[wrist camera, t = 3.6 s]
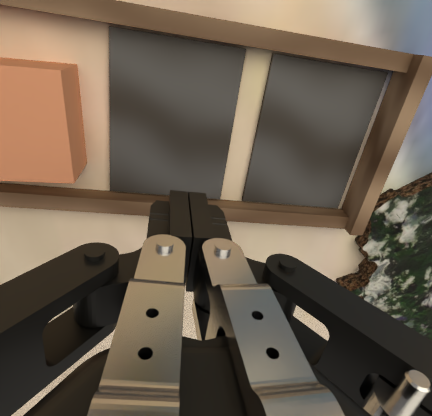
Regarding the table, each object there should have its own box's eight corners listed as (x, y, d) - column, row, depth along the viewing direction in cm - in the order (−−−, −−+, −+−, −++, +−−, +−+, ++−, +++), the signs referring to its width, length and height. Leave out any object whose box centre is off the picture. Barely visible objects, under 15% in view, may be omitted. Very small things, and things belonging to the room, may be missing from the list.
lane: (-497, -109, 15) (-697, -151, 12) (414, 55, 24) (456, 59, 20) (-308, 175, 22) (-399, 202, 18) (348, 220, 31) (371, 245, 27)
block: (-37, 53, 21) (-80, 58, 17) (78, 64, 22) (60, 70, 18) (-12, 157, 24) (-43, 179, 20) (87, 162, 25) (74, 183, 21)
